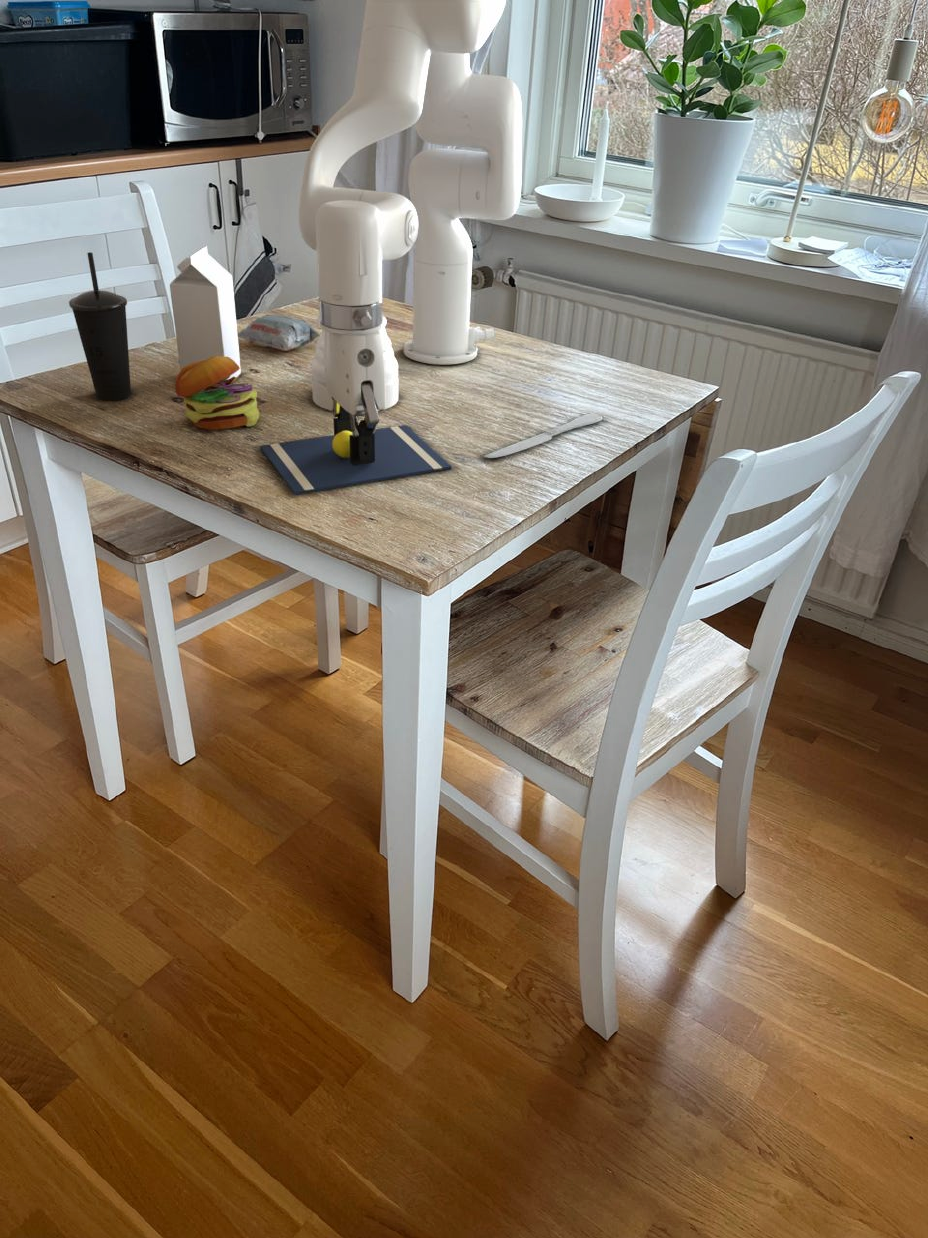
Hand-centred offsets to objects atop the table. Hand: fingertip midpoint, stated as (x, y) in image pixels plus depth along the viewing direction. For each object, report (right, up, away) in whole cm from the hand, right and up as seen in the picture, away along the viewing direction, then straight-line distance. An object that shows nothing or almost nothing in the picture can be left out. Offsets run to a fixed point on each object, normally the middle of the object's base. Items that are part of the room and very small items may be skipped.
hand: (354, 453), depth 123 cm
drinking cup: (-37, +11, +16) cm, 42 cm away
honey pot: (-2, +12, +19) cm, 22 cm away
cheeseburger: (-20, +6, +10) cm, 23 cm away
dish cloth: (0, -1, 0) cm, 1 cm away
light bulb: (0, 0, 0) cm, 1 cm away
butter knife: (+26, +4, +9) cm, 27 cm away
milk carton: (-25, +15, +23) cm, 37 cm away
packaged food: (-17, +24, +38) cm, 48 cm away
